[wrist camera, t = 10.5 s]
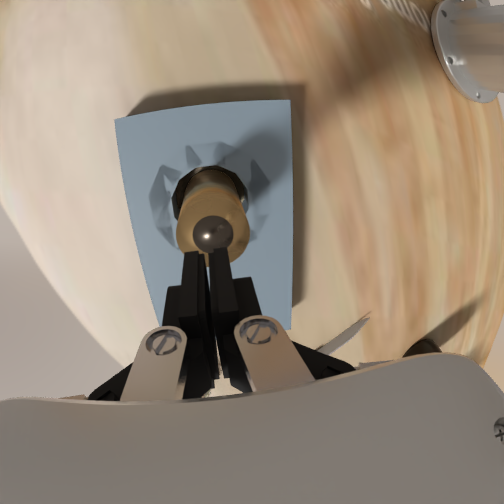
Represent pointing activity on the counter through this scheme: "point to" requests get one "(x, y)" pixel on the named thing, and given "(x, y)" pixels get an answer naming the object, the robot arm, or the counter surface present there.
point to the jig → (208, 154)
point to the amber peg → (212, 216)
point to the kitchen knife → (342, 338)
